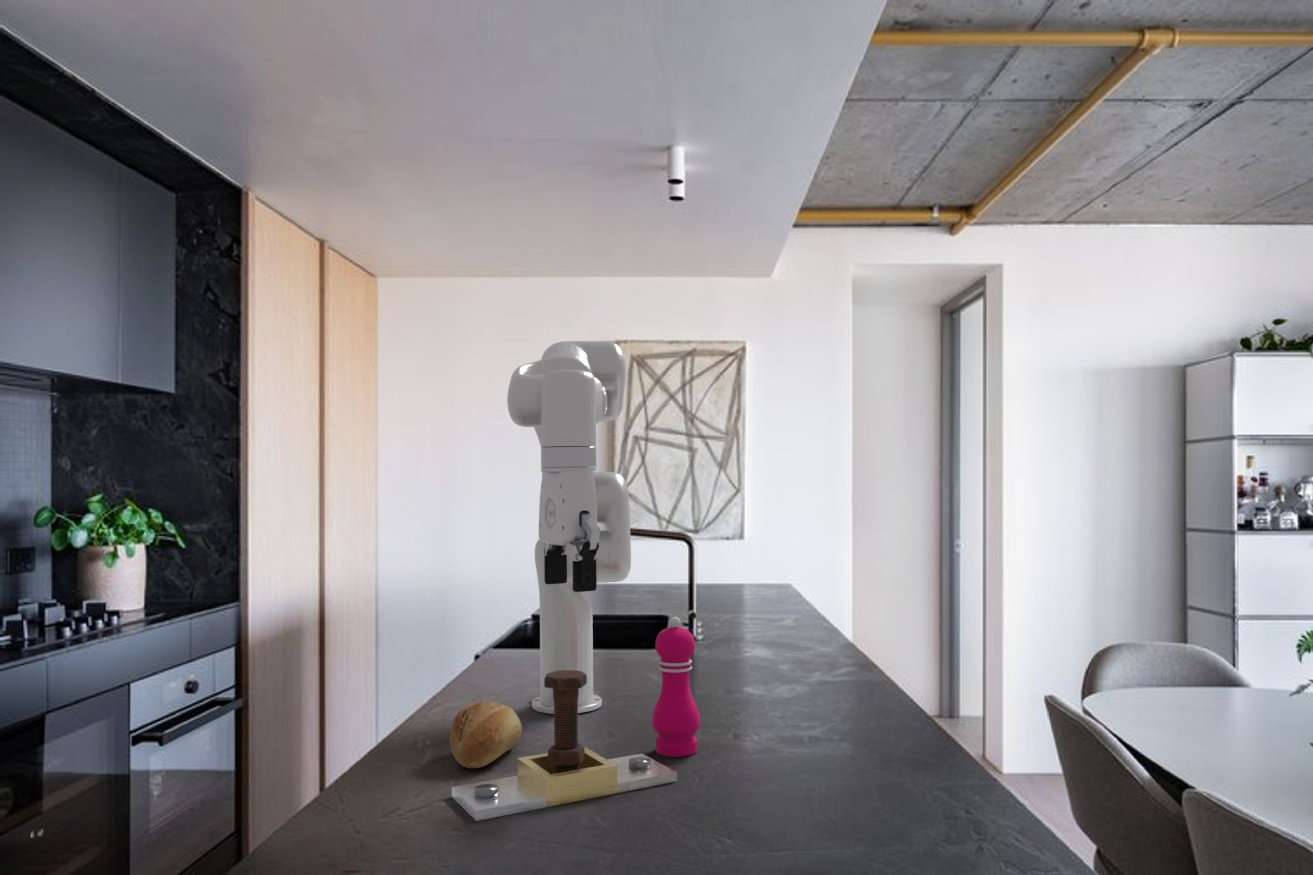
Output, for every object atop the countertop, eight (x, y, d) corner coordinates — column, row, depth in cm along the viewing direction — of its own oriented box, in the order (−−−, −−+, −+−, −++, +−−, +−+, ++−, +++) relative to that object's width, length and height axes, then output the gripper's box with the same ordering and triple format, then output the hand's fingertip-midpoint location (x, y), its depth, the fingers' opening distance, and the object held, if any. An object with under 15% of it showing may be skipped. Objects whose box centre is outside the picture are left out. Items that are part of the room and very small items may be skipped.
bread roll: (434, 773, 129) (434, 716, 129) (471, 743, 143) (471, 691, 144) (500, 776, 127) (500, 717, 128) (531, 745, 142) (530, 693, 142)
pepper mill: (706, 746, 140) (704, 614, 141) (692, 760, 133) (690, 621, 134) (661, 742, 142) (659, 612, 143) (645, 755, 135) (644, 619, 136)
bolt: (579, 796, 118) (578, 678, 119) (541, 794, 119) (540, 677, 120) (590, 781, 124) (589, 669, 125) (554, 780, 125) (553, 668, 125)
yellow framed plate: (451, 796, 119) (451, 769, 119) (641, 761, 132) (641, 737, 133) (476, 820, 110) (476, 791, 110) (677, 781, 124) (676, 754, 124)
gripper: (520, 462, 131) (521, 582, 130) (568, 460, 115) (569, 596, 115) (568, 461, 134) (569, 579, 134) (621, 459, 119) (623, 592, 118)
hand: (569, 587), depth 124 cm, fingers open, 9 cm apart
